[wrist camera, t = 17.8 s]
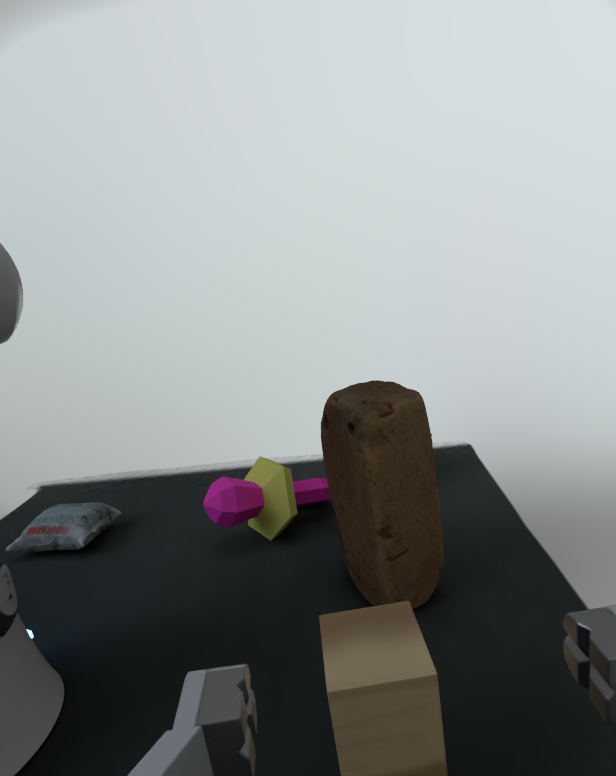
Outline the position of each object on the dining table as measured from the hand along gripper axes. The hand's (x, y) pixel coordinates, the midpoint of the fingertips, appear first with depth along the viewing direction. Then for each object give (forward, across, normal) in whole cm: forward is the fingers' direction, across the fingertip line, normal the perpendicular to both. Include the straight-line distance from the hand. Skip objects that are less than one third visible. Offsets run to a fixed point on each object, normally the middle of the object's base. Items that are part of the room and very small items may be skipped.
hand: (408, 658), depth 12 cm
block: (+31, -4, +22) cm, 38 cm away
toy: (+46, +7, +22) cm, 51 cm away
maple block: (+12, 0, +21) cm, 24 cm away
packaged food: (+50, +36, +22) cm, 65 cm away
